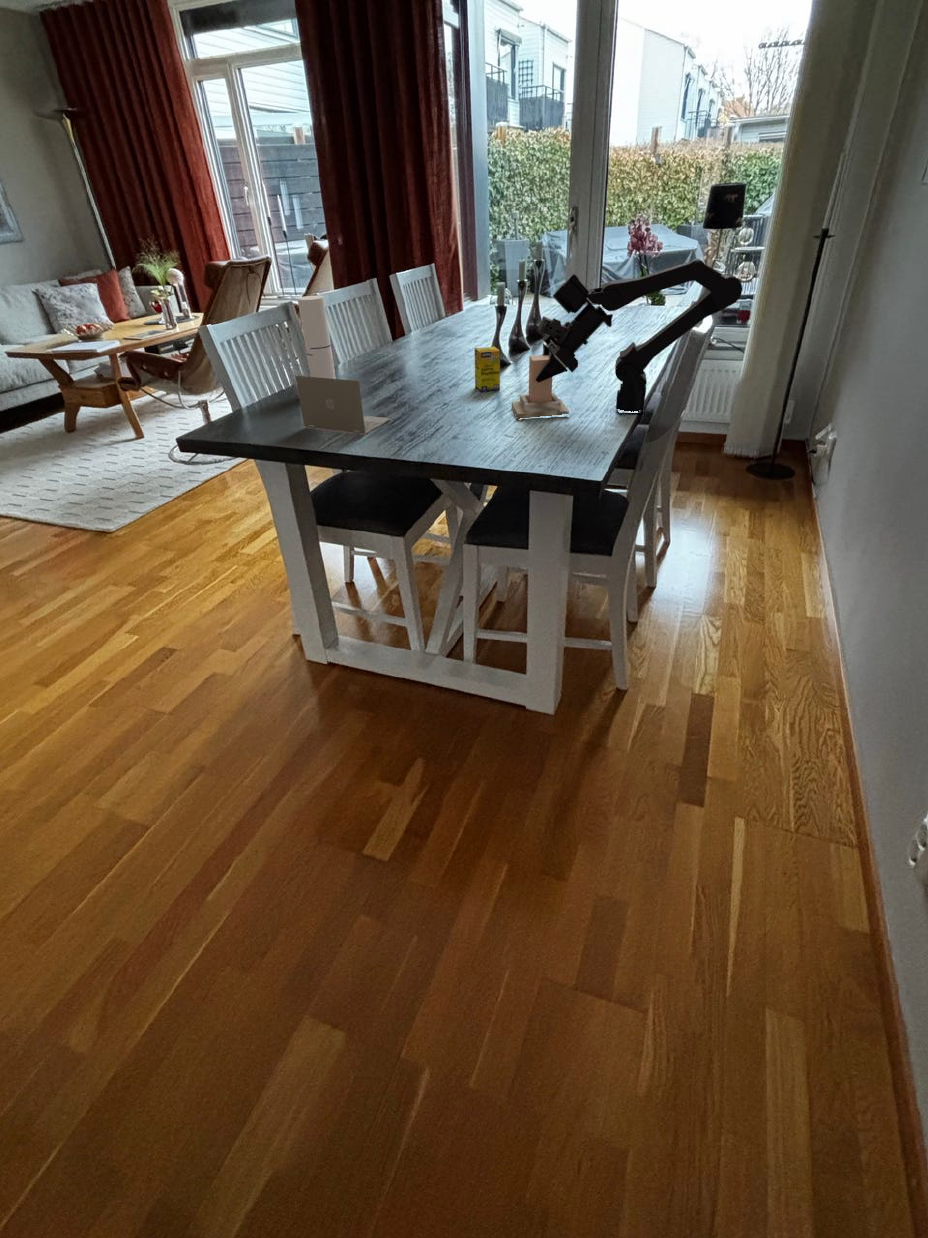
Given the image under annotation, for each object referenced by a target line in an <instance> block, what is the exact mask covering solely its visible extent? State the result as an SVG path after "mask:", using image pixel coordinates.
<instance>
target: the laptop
mask: <svg viewBox="0 0 928 1238" xmlns="http://www.w3.org/2000/svg"><path fill="white" fill-rule="evenodd" d="M295 381H296V386H297V393H298V397H299V403H300V404H299V405H300V410H301V415H302V416H301V417H302V420H303V421H302V422H303V426H304V428H305V429H310V430H317V431H325V432H334V433H342V434H343V433H344V434H349V435H350V434H351V435H361V436H367V435H369V434H370V433H372V432H374V431H375V430H377V429H378V428H380V427H381V426H383V425H384V424H385V423H387V422H388V421H390V420H391V418H390V417H382V416H373V415H372V416H371V415H364V411H363V410H364V409H363V404H362V403H363V402H362V395H361V387H360V381H359V380H353V379H352V380H350V379H343V378H342V379H339V378H336V379H330V378H318V377H310V376H303V375H295Z"/></svg>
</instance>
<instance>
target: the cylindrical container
mask: <svg viewBox="0 0 928 1238" xmlns="http://www.w3.org/2000/svg"><path fill="white" fill-rule="evenodd" d="M325 303H326V302H325V296H323V295H306V296H305V295H304V296H300V297H298V298H297V304H298V309H299V315H300V322H301V329H302V334H303V339H304V340H303V341H304V345H305V350H306V351H305V352H306V358H307V364H308V368H309V369H308V371H309V374H310V376H309V377H318V378H330V379H337V377H336V372H335V371H336V370H335V365H334V364H335V363H334V357H333V351H332V344H331V336H330V329H329V323H328V322H329V321H328V317H327V309H326V304H325Z"/></svg>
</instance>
